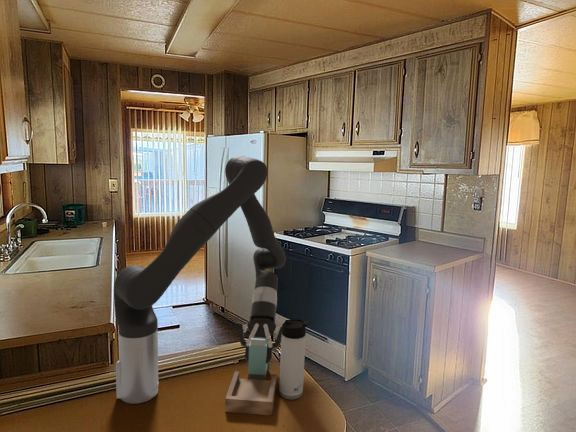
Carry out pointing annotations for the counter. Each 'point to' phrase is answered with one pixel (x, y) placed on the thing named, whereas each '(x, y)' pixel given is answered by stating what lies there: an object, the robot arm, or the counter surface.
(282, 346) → the travel mug
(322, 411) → the counter surface
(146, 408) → the counter surface
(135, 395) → the robot arm
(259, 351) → the mint green block
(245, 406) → the wooden tray
